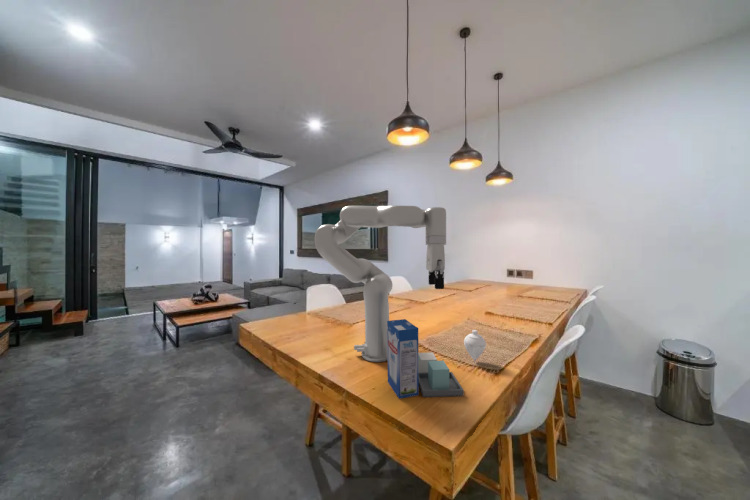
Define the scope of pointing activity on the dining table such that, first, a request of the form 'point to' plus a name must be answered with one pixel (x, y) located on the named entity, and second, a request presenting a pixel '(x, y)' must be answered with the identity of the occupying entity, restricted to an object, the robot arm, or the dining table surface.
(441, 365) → the teal block
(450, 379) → the tray
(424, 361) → the light grey block
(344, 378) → the dining table surface
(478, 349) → the spinning top
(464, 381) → the dining table surface
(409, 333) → the milk carton
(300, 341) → the dining table surface
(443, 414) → the dining table surface
